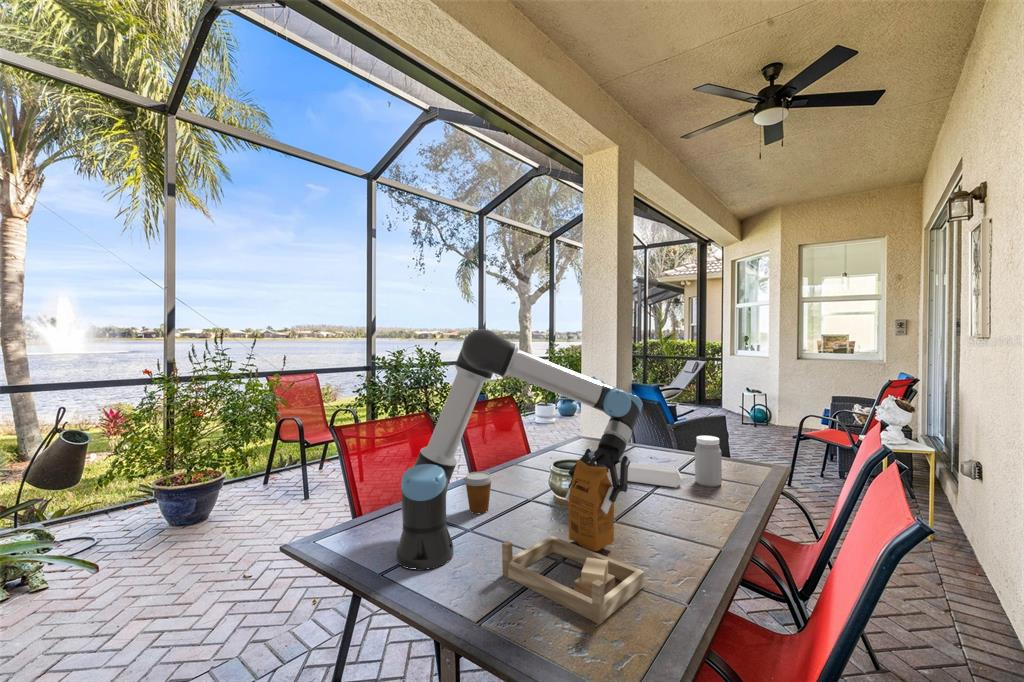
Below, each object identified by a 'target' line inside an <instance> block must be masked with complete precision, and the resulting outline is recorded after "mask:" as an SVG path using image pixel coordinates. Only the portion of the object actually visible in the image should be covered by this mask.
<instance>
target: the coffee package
mask: <svg viewBox="0 0 1024 682" xmlns="http://www.w3.org/2000/svg"><path fill="white" fill-rule="evenodd" d="M576 463H577V465H576V468H575V471H574V476H573V480H572V479H571V480H572V484H571V488H570V498H569V502H568V510H567V511H568V512H567V516H568V517H567V518H568V539H569V540H571V541H574V542H577V544H578V546H580V547H582V548H585V549H587V550H590V551H593V552H599V551H600V550H601V549H603V548H605V547H606V546H609V545H612V544H613V542H615V524H614V522H615V502H612V504H611V506H610V508H609V511H608V513H607V514H605V513H604V512H603V511H602V510H601V506H602V504H603V502H604V499H605V497H606V495H607V492H608V490H609V488H610V487H612V488H613V486H612V485H613V484H612V482H611V481H610V479H609V476H608V473H610V470H609V469H608V468H604V467H594V466H588V465H586V464H585V463H584V462H583V461H581V460H580V459H578V460H577V462H576Z"/></svg>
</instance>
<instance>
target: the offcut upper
mask: <svg viewBox="0 0 1024 682" xmlns="http://www.w3.org/2000/svg"><path fill="white" fill-rule="evenodd" d="M580 572H581V573H580V574H581V576H580V577H581V584H582V585H585V586H591V587H592V582H594V581H595V580H596V579H597V580H599V581H602V582H604V586H605V582H606V579H607V575H608V560H602V559H595V558H589V557H587V559H586V561H585V564H584V565H583V567H582V570H581V571H580Z"/></svg>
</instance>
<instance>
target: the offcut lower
mask: <svg viewBox="0 0 1024 682" xmlns="http://www.w3.org/2000/svg"><path fill="white" fill-rule="evenodd" d="M615 587H616V578H615V576H614V575H611V574H608V575H607V579H606V582H605V586H604V596H605V595H606V594H607V593H608V592H610V591H611V590H612V589H614V588H615ZM574 590H575V591H577V592H579V593H581V594H583V595H585V596H587V597H589V598H592V587H591V586H585V585H582V584H581V576H580V577H578V578H577V579H576V580H574Z"/></svg>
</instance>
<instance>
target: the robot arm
mask: <svg viewBox="0 0 1024 682" xmlns="http://www.w3.org/2000/svg"><path fill="white" fill-rule="evenodd" d="M461 346H462V347H461V349H460V352H459V354H458V356H457V359H456V362H455V365H454V367H455V368H456V372H457V373H456V375H455V377H454V379H453V382H452V386H451V387H450V389H449V392H448V395H447V397H446V400H445V401H444V405H443V407H442V409H441V412H440V414H439V416H438V419H437V421H436V423H435V427H434V429H433V432H432V435H431V437H430V439H429V441H428V444H427V446H424V447H422V448H420V451H419V453H418V455H417V458H416V460H415V463H414V464H413V466H412V467H409V468H408V469H405V470H404V472H403V474H402V477H401V482H400V488H401V507H402V509H401V510H402V512H401V513H402V532H401V535H400V539H399V542H398V544H397V545H398V547H397V548H396V562H397V561H398V563H400V564H401V565H402V566H405V567H408V568H416V569H427V568H433V567H436V568H438V567H437V566H439V567H441V566H440V565H442V564H444V563H446V562H447V561H448V560H450V559H451V560H452V558H453V557H454V544H453V541H452V537H451V534H450V532H449V529H448V526H447V492H448V487H449V483H450V481H451V479H452V476H453V473H454V471H455V469H456V465H457V464H458V461H457V459H456V458H455V457H456V456H455V455H456V453H457V450H458V447H459V445H460V443H461V441H462V438H463V435H464V433H465V430H466V428H467V425H468V423H469V421H470V418H471V415H472V413H473V411H474V409H475V406H476V403H477V401H478V398H479V395H480V394H481V391H482V388H483V386H484V383H486V382H488V381H490V380H492V377H493V375H494V374H495V375H498V376H499V377H503V378H505V377H507V376H511V377H513V378H516V379H518V380H522V381H524V382H526V383H529V384H531V385H534V386H537V387H539V388H542V389H545V390H547V391H549V392H552V393H554V394H557V395H560V396H562V397H565V398H568V399H570V400H572V401H575V402H577V403H580V404H583V405H586V406H588V407H591V408H594V409H596V410H598V411H600V412H603V413H605V415H607V416H608V417H610V419H609V420H608V423H607V425H606V427H605V429H604V431H603V434H602V436H601V437H600V440H599V442H598V447H597V449H596V450H592V449H590V448H587V449H586V450H585V452H584V454H583V455H582V456H581V457H580V458H579V460H581V461H583V462H584V463H585V464H586V465H588V466H594V467H604V468H608V471H609V475H610V478H611V485H612V487H610V488H609V490H608V492H607V495H606V497H605V499H604V502H603V504H602V506H601V510H602V511H603V512H604V513H605V514H607V513H608V511H609V508H610V506H611V504H612V502H614V503H615V502H616V500H617V498H618V496H619V493H620V492H624V493H626V492H628V482H629V481H628V466H629V464H630V463H631V460H630V459H629V458H628V456H627V455H624V453H625V451H626V448H627V445H628V443H629V441H630V438H631V435H632V433H633V431H634V429H635V426H636V424H637V421H638V420H639V418H640V416H641V412H642V410H643V407H644V405H643V401H642V400H641V398H640V397H639V396H637V395H635V394H633V393H632V392H631V393H630V392H626V391H625V390H623V389H621V388H618V387H615V386H612V385H610V384H607V383H606V382H604V381H603V380H602V379H600V378H598V377H597V376H591V377H590V376H587V375H585V374H582V373H579V372H577V371H574V370H572V369H569V368H566V367H565V366H562V365H559V364H556V363H554V362H552V361H549V360H546V359H544V358H541V357H539V356H536V355H534V354H531V353H529V352H526V351H524V350H521V349H519V347H518V345H517V344H516V343H514V342H511V341H508V340H506V339H504V338H503V337H501V336H499V335H498V334H497V333H495V332H493V330H492V331H491V330H489V329H485V328H480V329H475V330H473V331H471V332H469V333H468V335H466V336H465V339H464V340H463V343H462V345H461ZM623 455H624V456H623ZM619 463H620V471H619V473H620V474H619V476H618V473H617V472H618V470H617V466H616V465H617V464H619ZM576 465H577V462H576V463H575V464H574V465H573V467H571V468H570V469H569V471H568V475H569V476H570V478H571V480H570V482H569V484H568V487H567V488H568V491H567V493H566V495H565V496H564V497H565V499H566V501H567V502H568V503H569V498H570V488H571V484H572V480H573V476H574V471H575V468H576ZM452 556H453V557H452ZM451 560H450V561H451ZM448 562H449V561H448ZM448 562H447V563H448ZM398 563H397V564H398ZM447 563H446V564H447ZM444 565H445V564H444ZM402 566H401V567H402ZM442 566H443V565H442ZM433 569H434V568H433ZM427 570H428V569H427Z"/></svg>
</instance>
